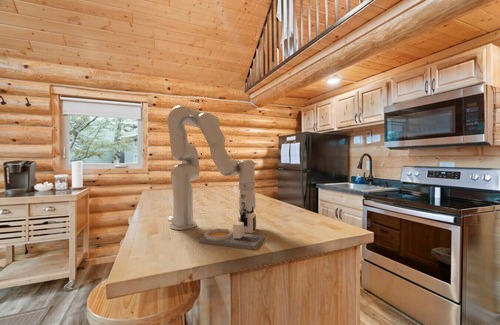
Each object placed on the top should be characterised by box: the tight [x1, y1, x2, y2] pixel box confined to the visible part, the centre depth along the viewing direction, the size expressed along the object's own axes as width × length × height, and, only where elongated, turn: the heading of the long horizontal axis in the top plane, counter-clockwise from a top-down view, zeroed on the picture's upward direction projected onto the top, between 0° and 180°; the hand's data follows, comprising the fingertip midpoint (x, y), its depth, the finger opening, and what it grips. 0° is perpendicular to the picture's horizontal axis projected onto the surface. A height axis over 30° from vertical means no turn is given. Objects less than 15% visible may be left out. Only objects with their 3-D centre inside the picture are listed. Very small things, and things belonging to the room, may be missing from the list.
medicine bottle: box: [237, 207, 257, 234], centre depth 111 cm, size 7×7×12 cm
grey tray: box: [198, 228, 265, 251], centre depth 98 cm, size 24×12×3 cm, turn 70°
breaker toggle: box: [232, 221, 245, 239], centre depth 97 cm, size 3×4×6 cm
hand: (247, 223), depth 112 cm, fingers closed on medicine bottle, 7 cm apart
